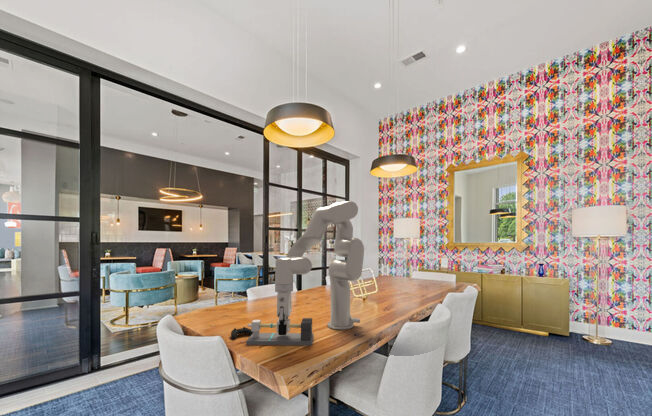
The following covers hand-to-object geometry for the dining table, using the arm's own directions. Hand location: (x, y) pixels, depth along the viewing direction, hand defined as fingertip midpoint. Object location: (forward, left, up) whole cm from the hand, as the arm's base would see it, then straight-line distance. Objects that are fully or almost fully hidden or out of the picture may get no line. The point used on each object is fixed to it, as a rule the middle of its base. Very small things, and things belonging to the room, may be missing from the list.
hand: (283, 332), depth 119 cm
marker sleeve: (0, 0, +1) cm, 1 cm away
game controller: (+19, -6, -4) cm, 20 cm away
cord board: (+1, 0, -3) cm, 3 cm away
